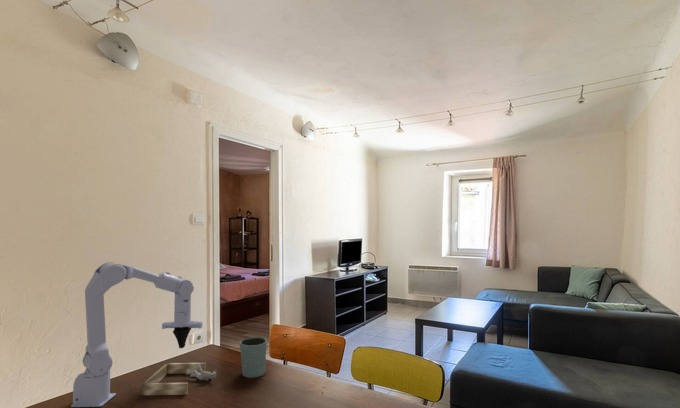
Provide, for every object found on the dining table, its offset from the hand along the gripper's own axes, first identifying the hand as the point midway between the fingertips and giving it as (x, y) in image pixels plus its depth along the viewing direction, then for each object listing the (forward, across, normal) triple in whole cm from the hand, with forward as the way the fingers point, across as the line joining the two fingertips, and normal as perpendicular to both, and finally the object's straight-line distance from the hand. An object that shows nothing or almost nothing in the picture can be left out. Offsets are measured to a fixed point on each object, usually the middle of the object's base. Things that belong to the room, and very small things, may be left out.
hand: (182, 347), depth 136 cm
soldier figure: (+10, -9, +4) cm, 15 cm away
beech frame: (+10, -1, +7) cm, 12 cm away
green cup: (+10, -27, -1) cm, 29 cm away
